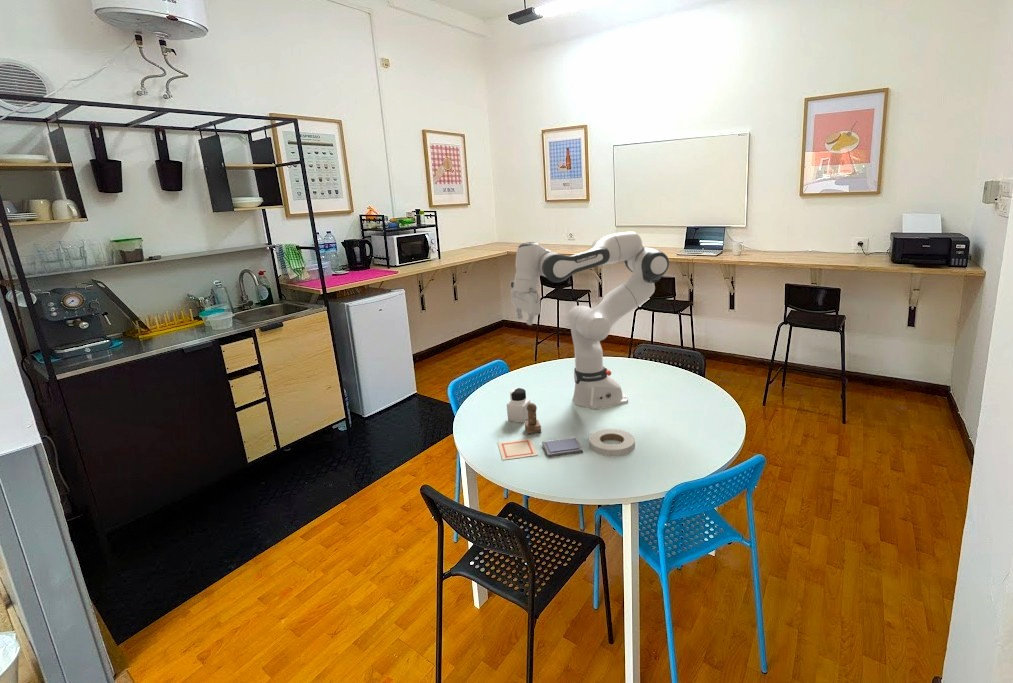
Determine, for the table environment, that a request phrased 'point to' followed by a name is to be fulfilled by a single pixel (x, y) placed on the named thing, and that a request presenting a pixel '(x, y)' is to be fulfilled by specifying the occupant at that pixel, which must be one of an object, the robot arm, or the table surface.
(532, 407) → the walnut stamp
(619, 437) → the roll of tape
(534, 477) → the table surface
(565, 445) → the ink pad
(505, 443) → the tan card
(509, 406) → the medicine bottle
